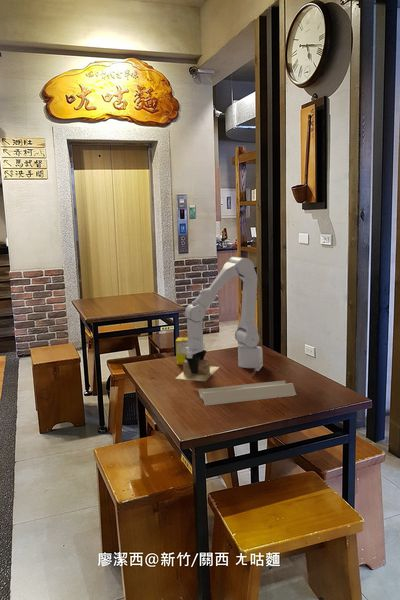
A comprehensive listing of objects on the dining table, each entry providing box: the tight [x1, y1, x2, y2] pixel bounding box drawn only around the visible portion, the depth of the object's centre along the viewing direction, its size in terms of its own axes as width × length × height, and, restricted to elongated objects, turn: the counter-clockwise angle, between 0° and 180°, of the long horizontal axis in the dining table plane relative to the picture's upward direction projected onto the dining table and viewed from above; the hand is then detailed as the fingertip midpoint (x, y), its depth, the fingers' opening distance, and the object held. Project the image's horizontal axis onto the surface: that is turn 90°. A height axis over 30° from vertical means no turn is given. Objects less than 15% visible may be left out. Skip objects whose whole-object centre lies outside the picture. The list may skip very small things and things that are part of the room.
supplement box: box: [175, 336, 188, 365], centre depth 202 cm, size 6×6×11 cm
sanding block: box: [182, 359, 210, 377], centre depth 187 cm, size 9×4×5 cm, turn 70°
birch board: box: [175, 366, 220, 382], centre depth 189 cm, size 12×17×1 cm
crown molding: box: [197, 379, 297, 407], centre depth 167 cm, size 31×12×4 cm, turn 101°
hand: (196, 371), depth 187 cm, fingers closed on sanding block, 4 cm apart
